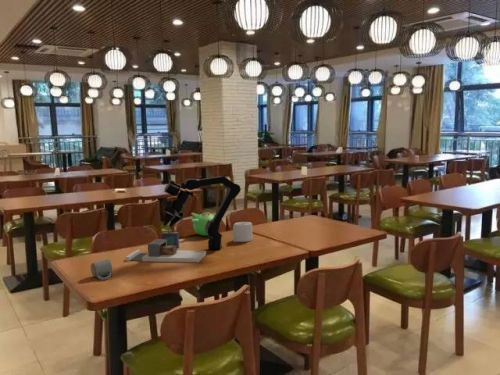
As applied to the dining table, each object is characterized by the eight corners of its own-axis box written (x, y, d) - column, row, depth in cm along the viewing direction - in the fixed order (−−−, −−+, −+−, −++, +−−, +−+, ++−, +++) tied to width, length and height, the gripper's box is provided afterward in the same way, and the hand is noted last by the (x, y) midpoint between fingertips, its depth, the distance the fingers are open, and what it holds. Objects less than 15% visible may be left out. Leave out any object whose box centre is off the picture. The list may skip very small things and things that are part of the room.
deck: (206, 254, 235) (205, 250, 235) (198, 262, 221) (198, 258, 221) (137, 253, 242) (137, 249, 242) (125, 260, 228) (125, 257, 228)
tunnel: (167, 251, 237) (166, 239, 236) (159, 256, 226) (158, 244, 226) (156, 250, 238) (155, 239, 237) (148, 256, 227) (147, 244, 227)
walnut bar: (176, 252, 233) (176, 245, 232) (173, 255, 228) (173, 247, 228) (151, 252, 235) (151, 245, 235) (148, 254, 231) (147, 247, 230)
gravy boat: (219, 237, 273) (218, 213, 271) (192, 239, 270) (191, 215, 268) (217, 231, 290) (216, 209, 289) (191, 233, 288) (190, 210, 286)
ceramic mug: (90, 276, 205) (89, 260, 204) (108, 272, 210) (106, 256, 209) (97, 282, 196) (96, 265, 195) (115, 278, 201) (114, 262, 200)
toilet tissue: (254, 237, 268) (253, 221, 267) (250, 242, 257) (249, 225, 256) (237, 237, 271) (236, 221, 269) (232, 242, 259) (231, 225, 258)
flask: (179, 247, 252) (178, 228, 251) (178, 248, 249) (177, 230, 248) (163, 247, 253) (162, 229, 251) (162, 249, 250) (161, 230, 248)
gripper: (173, 196, 247) (160, 220, 246) (162, 191, 229) (148, 217, 228) (190, 205, 245) (177, 230, 244) (180, 200, 227) (166, 227, 226)
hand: (167, 226), depth 236 cm, fingers open, 9 cm apart
